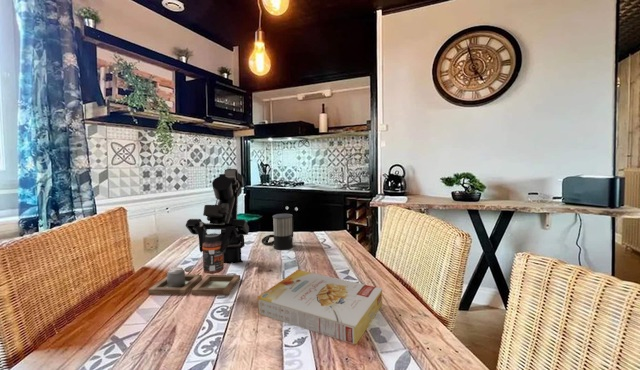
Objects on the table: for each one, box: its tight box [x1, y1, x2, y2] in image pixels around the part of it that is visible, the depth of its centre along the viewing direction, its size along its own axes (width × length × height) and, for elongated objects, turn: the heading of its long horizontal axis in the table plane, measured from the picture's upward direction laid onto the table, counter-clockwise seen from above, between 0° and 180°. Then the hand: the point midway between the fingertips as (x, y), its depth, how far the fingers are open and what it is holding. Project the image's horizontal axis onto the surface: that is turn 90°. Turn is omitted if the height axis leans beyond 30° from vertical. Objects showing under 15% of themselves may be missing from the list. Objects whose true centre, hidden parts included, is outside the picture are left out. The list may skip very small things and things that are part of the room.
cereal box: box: [256, 269, 383, 345], centre depth 79 cm, size 20×6×28 cm
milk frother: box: [261, 213, 295, 251], centre depth 135 cm, size 14×16×15 cm
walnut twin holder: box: [147, 274, 241, 296], centre depth 91 cm, size 11×24×2 cm, turn 87°
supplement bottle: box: [202, 232, 225, 275], centre depth 89 cm, size 6×6×11 cm
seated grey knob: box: [166, 267, 186, 287], centre depth 91 cm, size 5×5×5 cm
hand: (210, 251), depth 88 cm, fingers closed on supplement bottle, 6 cm apart
